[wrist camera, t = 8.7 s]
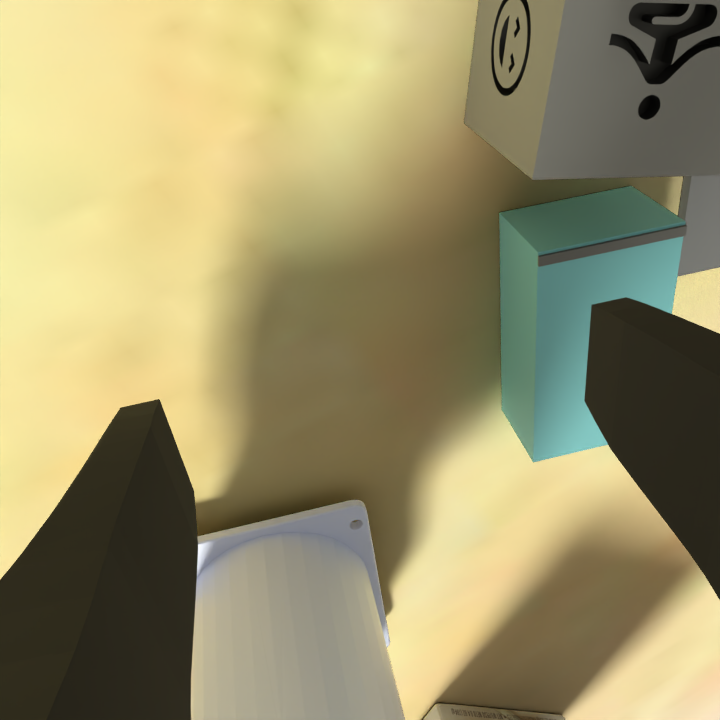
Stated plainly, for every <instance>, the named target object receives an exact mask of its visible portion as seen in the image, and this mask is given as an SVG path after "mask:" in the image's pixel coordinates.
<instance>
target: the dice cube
mask: <svg viewBox="0 0 720 720" xmlns="http://www.w3.org/2000/svg"><path fill="white" fill-rule="evenodd" d="M464 124H465V125H467V126H468V127H469V128H470V129H471V130H473V131H474V132H475V133H476V134H478V135H479V136H480V137H481V138H482V139H484V140H485V141H486V142H487V143H488V144H490V145H491V146H492V147H493V148H494V149H496V150H497V151H498V152H499V153H500V154H502V155H503V156H504V157H505V158H507V159H508V160H509V161H510V162H511V163H513V164H514V165H515V166H516V167H517V168H519V169H520V170H521V171H522V172H523V173H525V174H526V175H527V176H528V177H529V178H531V179H532V180H544V179H584V178H625V177H665V176H706V175H720V0H479V2H478V11H477V19H476V27H475V35H474V43H473V52H472V60H471V68H470V76H469V85H468V93H467V101H466V109H465V117H464Z"/></svg>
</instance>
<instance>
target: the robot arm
mask: <svg viewBox="0 0 720 720" xmlns="http://www.w3.org/2000/svg"><path fill="white" fill-rule="evenodd" d="M584 401H585V403H586V405H587V407H588V409H589V411H590V413H591V414H592V416H593V418H594V420H595V422H596V424H597V426H598V428H599V429H600V431H601V433H602V435H603V436H604V438H605V440H606V442H607V443H608V445H609V447H610V448H611V450H612V451H613V453H614V454H615V455H616V457H617V458H618V460H619V461H620V462H621V464H622V465H623V466H624V468H625V469H626V470H627V472H628V473H629V474H630V476H631V477H632V478H633V480H634V481H635V482H636V484H637V485H638V486H639V488H640V489H641V490H642V491H643V493H644V494H645V495H646V497H647V498H648V499H649V501H650V502H651V503H652V505H653V506H654V507H655V509H656V510H657V511H658V512H659V514H660V515H661V516H662V518H663V519H664V520H665V522H666V523H667V524H668V526H669V527H670V528H671V529H672V531H673V532H674V533H675V535H676V536H677V537H678V539H679V540H680V541H681V543H682V544H683V545H684V546H685V548H686V549H687V550H688V552H689V553H690V555H691V556H692V558H693V559H694V560H695V562H696V563H697V565H698V566H699V568H700V569H701V570H702V572H703V573H704V575H705V576H706V578H707V580H708V581H709V583H710V585H711V586H712V588H713V589H714V591H715V593H716V594H717V596H718V598H719V599H720V334H719V333H716V332H714V331H712V330H709V329H707V328H704V327H702V326H699V325H697V324H695V323H692V322H690V321H687V320H685V319H683V318H680V317H678V316H675V315H673V314H670V313H668V312H665V311H663V310H661V309H658V308H656V307H653V306H650V305H648V304H645V303H642V302H639V301H637V300H633V299H630V298H627V297H625V298H620V299H615V300H611V301H606V302H602V303H597V304H593V305H591V319H590V332H589V345H588V359H587V372H586V385H585V399H584ZM354 520H358V521H356V522H352V521H354ZM389 644H390V639H389V633H388V628H387V622H386V616H385V611H384V605H383V599H382V594H381V588H380V582H379V577H378V571H377V565H376V560H375V554H374V548H373V543H372V537H371V531H370V526H369V520H368V515H367V510H366V506H365V504H364V503H363V502H362V501H360V500H349V501H345V502H341V503H336V504H332V505H328V506H324V507H320V508H315V509H311V510H307V511H303V512H298V513H294V514H290V515H286V516H282V517H277V518H273V519H269V520H265V521H260V522H256V523H252V524H248V525H244V526H239V527H235V528H231V529H227V530H223V531H218V532H214V533H210V534H206V535H201V536H197V521H196V509H195V497H194V490H193V487H192V485H191V482H190V479H189V477H188V474H187V471H186V469H185V466H184V463H183V461H182V458H181V455H180V453H179V450H178V447H177V445H176V442H175V439H174V437H173V434H172V431H171V429H170V426H169V423H168V421H167V418H166V416H165V413H164V410H163V408H162V405H161V402H160V400H159V399H158V400H154V401H149V402H145V403H140V404H135V405H131V406H126V407H122V408H120V410H119V411H118V413H117V414H116V416H115V417H114V419H113V420H112V422H111V423H110V425H109V426H108V428H107V429H106V431H105V432H104V434H103V436H102V437H101V439H100V440H99V442H98V444H97V445H96V447H95V448H94V450H93V452H92V453H91V455H90V456H89V458H88V460H87V461H86V463H85V464H84V466H83V467H82V469H81V470H80V472H79V474H78V475H77V477H76V478H75V480H74V481H73V483H72V484H71V485H70V487H69V488H68V490H67V491H66V493H65V494H64V496H63V497H62V499H61V500H60V502H59V503H58V505H57V506H56V508H55V509H54V511H53V512H52V514H51V515H50V516H49V518H48V519H47V520H46V522H45V523H44V524H43V526H42V527H41V528H40V530H39V531H38V532H37V534H36V535H35V536H34V538H33V539H32V541H31V542H30V543H29V545H28V546H27V547H26V549H25V550H24V551H23V553H22V554H21V555H20V556H19V558H18V559H17V560H16V561H15V563H14V564H13V565H12V566H11V568H10V569H9V570H8V571H7V572H6V574H5V575H4V576H3V577H2V578H1V580H0V720H405V717H404V713H403V710H402V706H401V702H400V698H399V694H398V690H397V686H396V682H395V678H394V674H393V670H392V666H391V662H390V658H389V654H388V650H387V647H388V646H389Z"/></svg>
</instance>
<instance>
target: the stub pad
mask: <svg viewBox="0 0 720 720" xmlns="http://www.w3.org/2000/svg"><path fill="white" fill-rule="evenodd" d="M678 217H680V218H681V219H683V220H684V221H686V226H687V231H686V236H683V243H682V249H681V256H680V262H679V269H678V275H677V276H682V275H686V274H691V273H695V272H700V271H705V270H709V269H714V268H718V267H720V175H706V176H684V178H683V185H682V192H681V199H680V206H679V212H678Z"/></svg>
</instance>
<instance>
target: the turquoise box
mask: <svg viewBox="0 0 720 720" xmlns="http://www.w3.org/2000/svg"><path fill="white" fill-rule="evenodd" d="M499 230H500V308H501V385H502V411H503V412H504V414H505V416H506V417H507V419H508V421H509V422H510V424H511V426H512V428H513V429H514V431H515V433H516V434H517V436H518V438H519V439H520V441H521V443H522V444H523V446H524V448H525V449H526V451H527V453H528V454H529V456H530V458H531V459H532V461H533V462H536V461H541V460H545V459H549V458H553V457H557V456H562V455H566V454H570V453H574V452H578V451H583V450H587V449H591V448H595V447H599V446H604V445H608V443H607V442H606V440H605V438H604V436H603V435H602V433H601V431H600V429H599V428H598V426H597V424H596V422H595V420H594V418H593V416H592V414H591V413H590V411H589V409H588V407H587V405H586V403H585V401H584V399H585V385H586V372H587V359H588V345H589V332H590V319H591V305H593V304H597V303H602V302H606V301H611V300H615V299H620V298H625V297H627V298H630V299H633V300H637V301H639V302H642V303H645V304H648V305H650V306H653V307H656V308H658V309H661V310H663V311H665V312H668V313H670V314H672V308H673V301H674V295H675V288H676V282H677V275H678V269H679V262H680V256H681V249H682V243H683V236H686V231H687V226H686V221H684V220H683V219H681V218H680V217H678V216H677V215H675V214H674V213H672V212H671V211H669V210H668V209H666V208H664V207H663V206H661V205H660V204H658V203H657V202H655V201H654V200H652V199H651V198H649V197H648V196H646V195H645V194H643V193H642V192H640V191H639V190H637V189H636V188H634V187H632V186H627V187H623V188H618V189H613V190H608V191H603V192H598V193H593V194H588V195H583V196H578V197H574V198H569V199H564V200H559V201H554V202H549V203H544V204H539V205H534V206H529V207H524V208H520V209H515V210H510V211H505V212H500V213H499Z"/></svg>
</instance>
